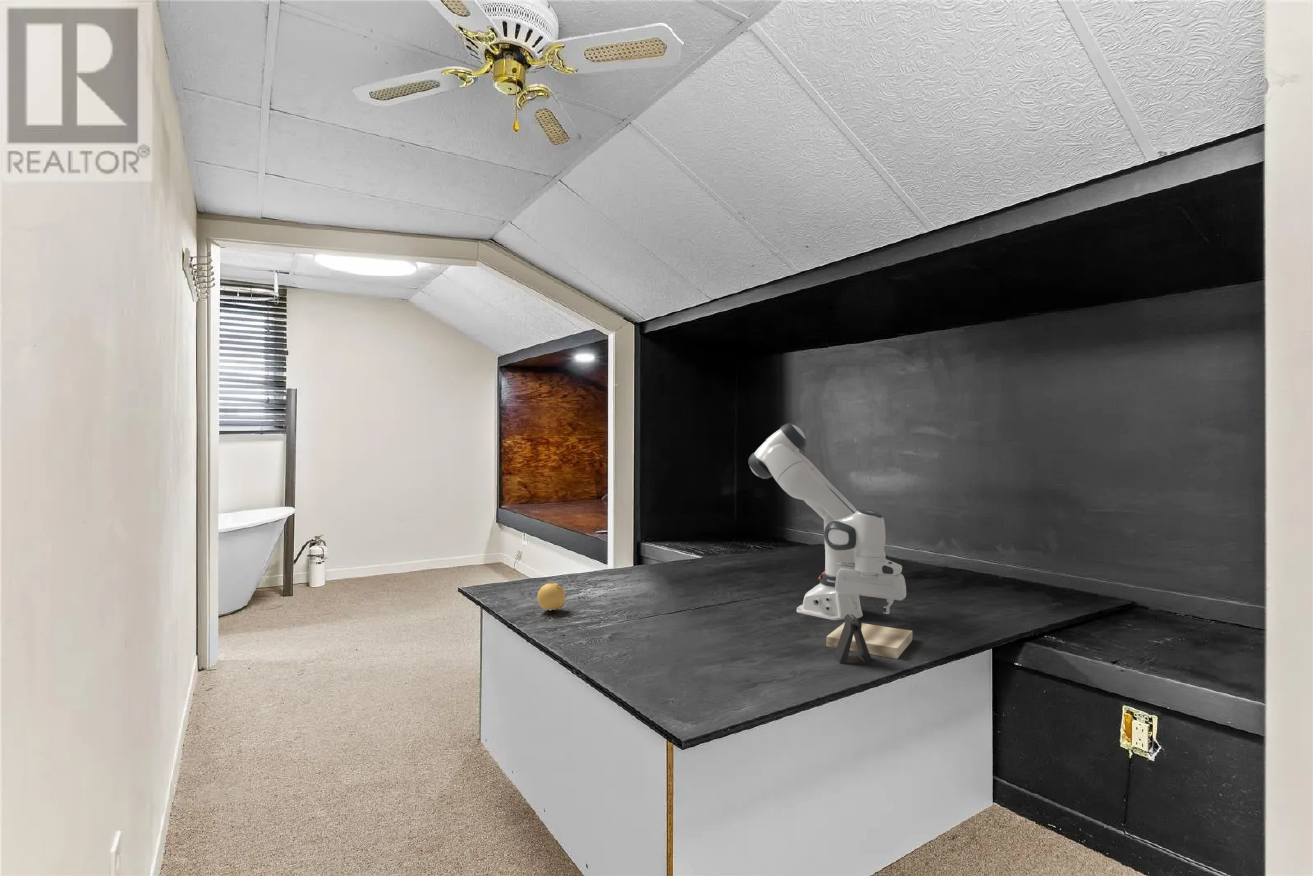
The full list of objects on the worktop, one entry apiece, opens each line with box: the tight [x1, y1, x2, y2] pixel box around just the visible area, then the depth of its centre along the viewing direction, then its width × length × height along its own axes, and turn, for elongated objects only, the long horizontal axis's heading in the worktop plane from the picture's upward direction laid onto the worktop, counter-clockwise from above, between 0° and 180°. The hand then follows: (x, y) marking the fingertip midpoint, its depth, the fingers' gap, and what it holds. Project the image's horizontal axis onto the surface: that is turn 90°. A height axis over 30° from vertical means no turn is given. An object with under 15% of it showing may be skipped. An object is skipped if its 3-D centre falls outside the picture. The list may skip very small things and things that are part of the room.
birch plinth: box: [825, 621, 913, 660], centre depth 193 cm, size 20×20×3 cm
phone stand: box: [833, 614, 874, 665], centre depth 178 cm, size 9×6×12 cm, turn 90°
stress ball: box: [537, 581, 566, 610], centre depth 230 cm, size 10×10×10 cm
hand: (869, 611), depth 193 cm, fingers open, 8 cm apart
